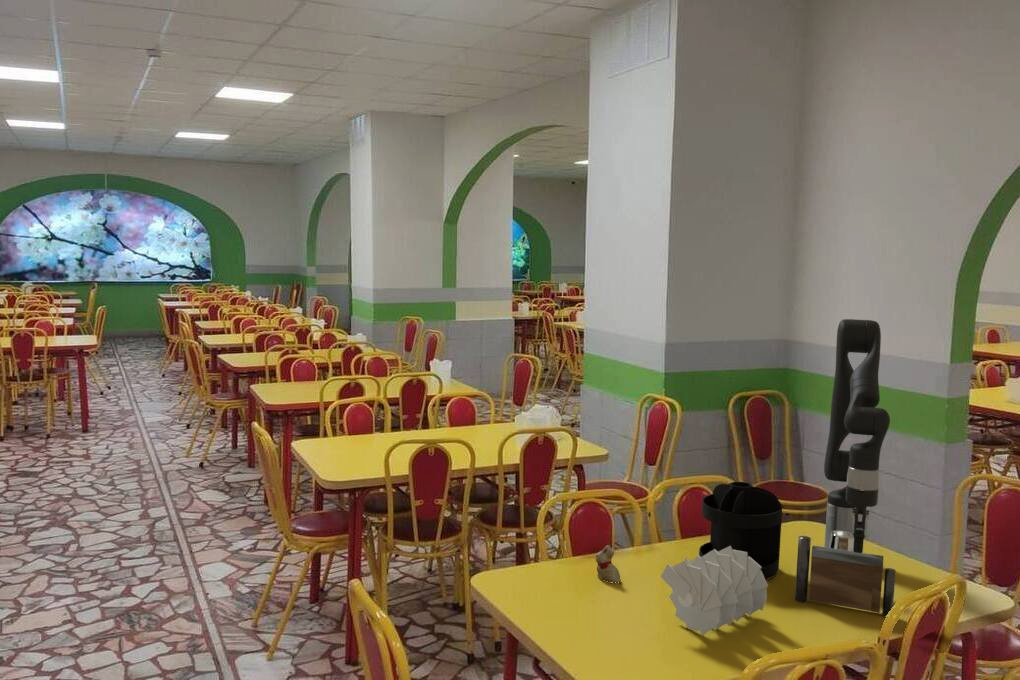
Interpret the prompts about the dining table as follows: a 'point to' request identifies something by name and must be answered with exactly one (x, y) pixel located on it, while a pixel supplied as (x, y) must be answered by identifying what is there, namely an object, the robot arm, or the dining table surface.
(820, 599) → the gate
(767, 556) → the container
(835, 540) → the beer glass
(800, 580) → the gate posts
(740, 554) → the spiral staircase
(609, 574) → the chocolate bunny
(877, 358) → the robot arm
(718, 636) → the dining table surface
